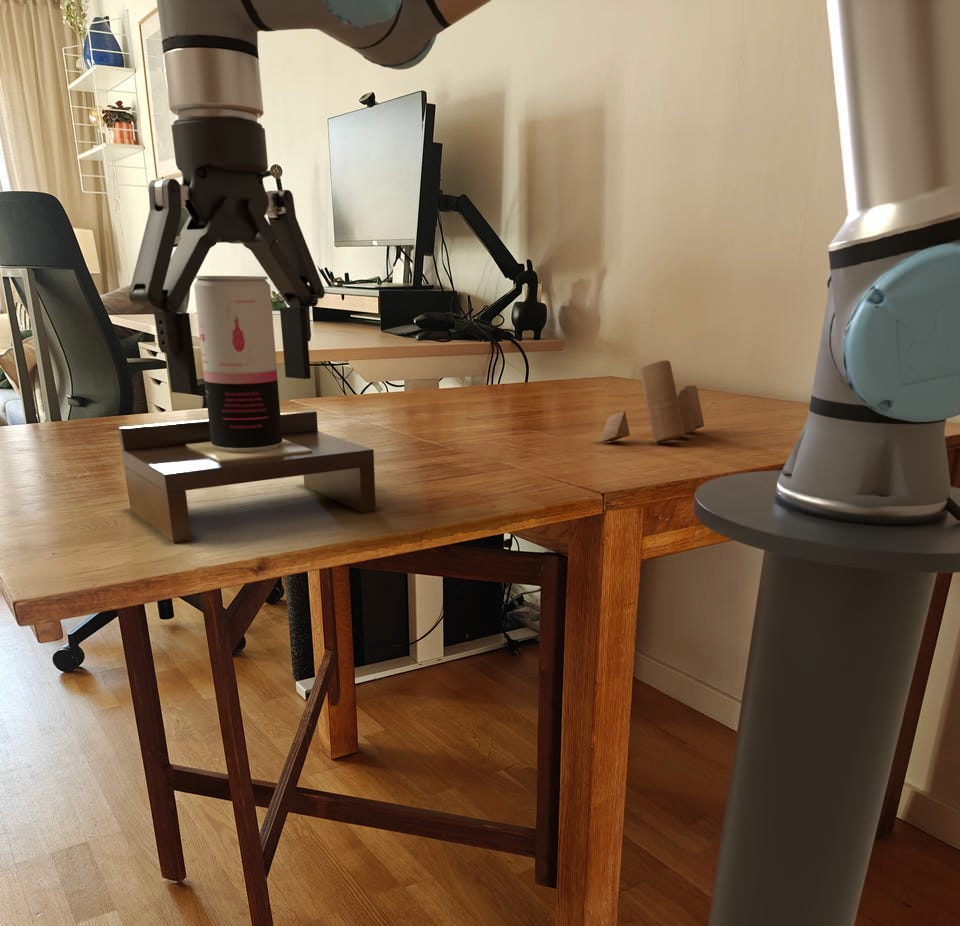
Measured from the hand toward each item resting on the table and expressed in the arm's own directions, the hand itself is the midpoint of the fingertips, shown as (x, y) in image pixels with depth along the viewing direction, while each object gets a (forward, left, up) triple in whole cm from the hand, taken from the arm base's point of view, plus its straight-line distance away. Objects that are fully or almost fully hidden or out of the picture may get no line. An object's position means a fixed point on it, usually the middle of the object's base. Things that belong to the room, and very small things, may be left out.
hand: (245, 385), depth 80 cm
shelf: (0, 0, -12) cm, 12 cm away
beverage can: (0, 0, -6) cm, 6 cm away
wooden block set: (+5, -63, -12) cm, 64 cm away
